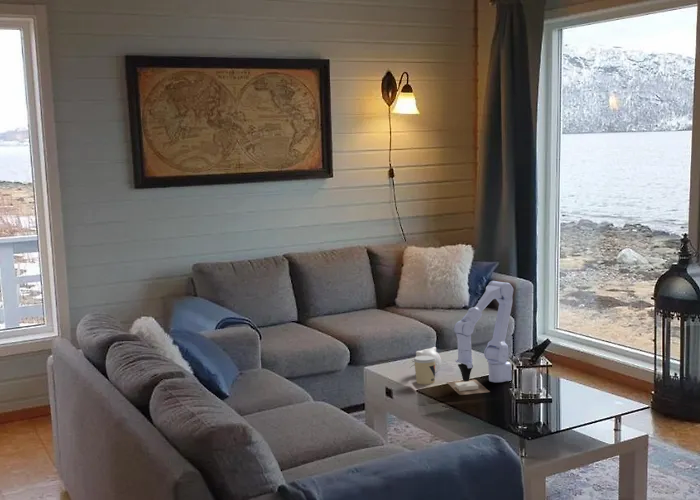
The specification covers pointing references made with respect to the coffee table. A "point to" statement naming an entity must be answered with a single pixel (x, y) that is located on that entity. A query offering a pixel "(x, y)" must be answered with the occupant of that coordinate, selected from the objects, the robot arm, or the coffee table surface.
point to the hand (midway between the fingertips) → (466, 380)
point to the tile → (466, 386)
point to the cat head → (431, 353)
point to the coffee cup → (425, 369)
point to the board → (480, 390)
